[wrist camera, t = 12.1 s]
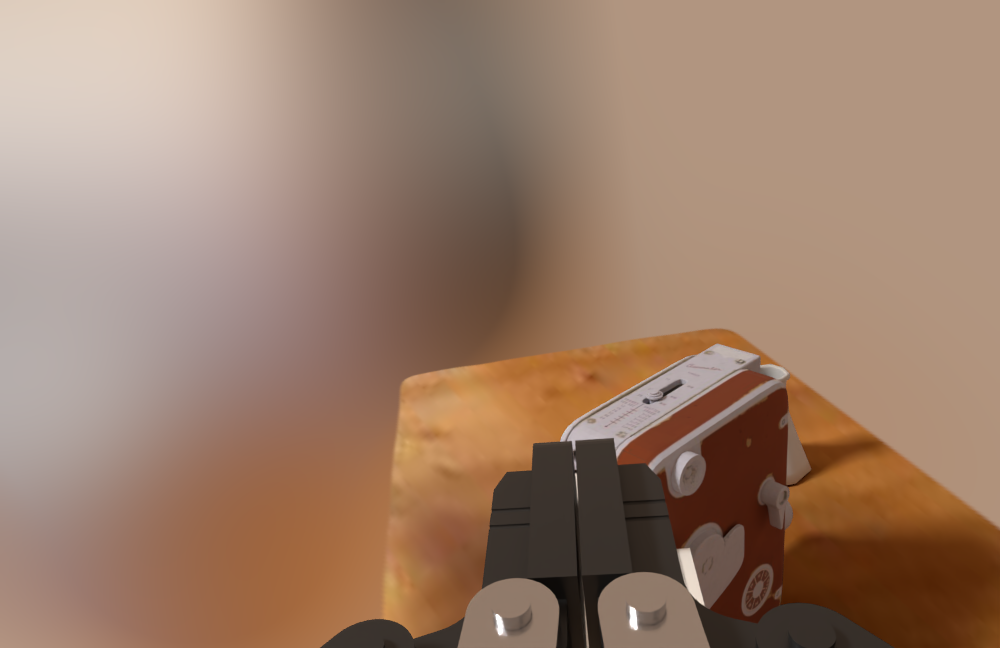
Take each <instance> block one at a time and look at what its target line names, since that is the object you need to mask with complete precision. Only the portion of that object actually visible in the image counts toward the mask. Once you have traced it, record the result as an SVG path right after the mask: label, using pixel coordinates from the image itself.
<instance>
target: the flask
mask: <svg viewBox="0 0 1000 648" xmlns="http://www.w3.org/2000/svg"><path fill="white" fill-rule="evenodd" d="M760 374H764V375H767V376H770V377H773V378H775V379H777V380H779V381H781V382H782V383H783V384H784V385H785V387H786V381H787V380H788V379H789V378H790V373H789V372H788V371H787V370H786V369H785V368H783V367H780V366H776V365H772V364H767V365H760ZM810 470H811V467H810V464H809V462H808V459H807V457H806V454H805V452H804V450H803V447H802V445H801V442H800V440H799V438H798V435H797V432H796V430H795V427H794V424H793V421H792V419H791V416H790V413H789V411H788V449H787V477H786V485H791V484H796V483H797V482H798V481H799V480H800V479H801V478H803V477H804V476H805V475H806V474H807V473H808V472H809V471H810Z"/></svg>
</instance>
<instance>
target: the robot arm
mask: <svg viewBox="0 0 1000 648" xmlns="http://www.w3.org/2000/svg"><path fill="white" fill-rule="evenodd" d="M575 450H576V469H577V487H576V476H575V466H574V456H573V446H572V441H562V442H547V443H534V444H533V458H532V471H516V472H507V473H506V474H505V476H504V477H503V478H502V480H501V481H500V482H499V484H498V485H497V486H496V488H495V489H494V493H493V501H492V513H491V518H490V530H489V535H488V543H487V551H486V560H485V568H484V577H483V585H482V590H481V591H479V592H478V593H477V594H476V595H475V596H474V597H473V599H472V600H471V602H470V603H469V605H468V608H467V611H466V614H465V617H464V618H463V619H461V620H460V621H458V622H457V623H455V624H453V625H451V626H450V627H448V628H445V629H442V630H440V631H437V632H434V633H431V634H427V635H424V636H421V637H418V638H415V639H413V638H412V636H411V634H410V633H409V631H408V630H407V629H406V628H405V627H403V626H402V625H400V624H398V623H396V622H393V621H390V620H384V619H375V620H367V621H364V622H359V623H357V624H354V625H352V626H350V627H348V628H346V629H344V630H343V631H341V632H340V633H338V634H337V635H336V636H334V637H333V638H332V639H331V640H329V641H328V642H327V643H326V644H324V645H323V646H322V647H321V648H587V641H586V622H585V611H586V621H587V631H588V641H589V648H894V647H892V646H891V645H889V644H888V643H886V642H884V641H883V640H881V639H880V638H878V637H876V636H875V635H873V634H871V633H870V632H868V631H867V630H865V629H863V628H862V627H860V626H859V625H857V624H855V623H854V622H852V621H851V620H849V619H847V618H846V617H844V616H842V615H841V614H839V613H837V612H835V611H833V610H830V609H828V608H825V607H822V606H818V605H814V604H808V603H789V604H784V605H780V606H778V607H775V608H773V609H771V610H770V611H768V612H767V613H766V614H764V615H763V616H762V618H761V619H760V621H759V622H758V624H757V623H752V622H748V621H743V620H738V619H734V618H730V617H726V616H723V615H721V614H718V613H716V612H714V611H712V610H710V609H708V608H706V607H705V606H704V605H702V604H701V603H699V602H698V601H697V600H696V599H695V598H694V597H693V596H692V595H691V593H690V592H689V591H688V589H687V587H686V585H685V583H684V580H683V576H682V571H681V567H680V563H679V558H678V554H677V549H676V545H675V540H674V536H673V532H672V527H671V523H670V519H669V514H668V509H667V505H666V502H665V496H664V492H663V487H662V483H661V479H660V478H659V477H658V476H657V475H656V474H655V473H654V472H653V471H652V470H651V469H650V468H649V467H648V466H647V464H646V463H639V464H623V465H618V464H617V457H616V450H615V443H614V438H604V439H589V440H575ZM577 489H578V497H577ZM584 601H585V603H584Z"/></svg>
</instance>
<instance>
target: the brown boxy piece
mask: <svg viewBox="0 0 1000 648" xmlns="http://www.w3.org/2000/svg"><path fill="white" fill-rule="evenodd" d="M788 411H789V408H788V395H787V391H786V387H785V385H784V384H783V383H782V382H781V381H779V380H777V379H775V378H773V377H770V376H767V375H764V374H760V356H758V355H755V354H751V353H748V352H744V351H741V350H737V349H734V348H730V347H727V346H723V345H720V344H716V345H714V346H712V347H710V348H709V349H707V350H705V351H703V352H702V353H700V354H698V355H692V356H688V357H686V358H684V359H682V360H680V361H678V362H676V363H674V364H672V365H670V366H669V367H667V368H665V369H663V370H662V371H660V372H658V373H656V374H655V375H653V376H651V377H649V378H648V379H646V380H644V381H642V382H640V383H639V384H637V385H635V386H633V387H632V388H630V389H628V390H626V391H625V392H623V393H621V394H619V395H618V396H616V397H614V398H612V399H611V400H609V401H607V402H605V403H604V404H602V405H600V406H598V407H597V408H595V409H593V410H591V411H590V412H588V413H586V414H585V415H583V416H582V417H580V418H578V419H577V420H575V421H574V422H573V423H572V424H571V425H569V426H568V427H567V429H566V430H565V432H564V433H563V435H562V437H561V441H560V442H562V441H572V446H573V456H574V466H575V474H577V469H576V450H575V440H589V439H604V438H614V443H615V450H616V457H617V464H618V465H623V464H639V463H646V464H647V466H648V467H649V468H650V469H651V470H652V471H653V472H654V473H655V474H656V475H657V476H658V477H659V478H660V479H661V483H662V487H663V492H664V496H665V502H666V505H667V509H668V514H669V519H670V523H671V527H672V532H673V536H674V540H675V545H676V549H682V548H690V551H691V555H692V558H693V562H694V566H695V570H696V574H697V578H698V582H699V586H700V590H701V593H702V597H703V601H704V605H705V607H706V608H708V609H710V610H712V611H714V612H716V613H718V614H721V615H723V616H726V617H730V618H734V619H738V620H743V621H748V622H752V623H757V624H758V622H759V621H760V619H761V618H762V616H763V615H764V614H766V613H767V612H768V611H770V610H771V609H773V608H775V607H778V606H780V603H781V595H782V583H783V562H784V534H785V529H787V528H788V527H789V526H790V524H791V520H792V517H793V511H792V508H791V506H790V504H789V502H788V498H789V488H788V487H787V486H786V477H787V449H788Z"/></svg>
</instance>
